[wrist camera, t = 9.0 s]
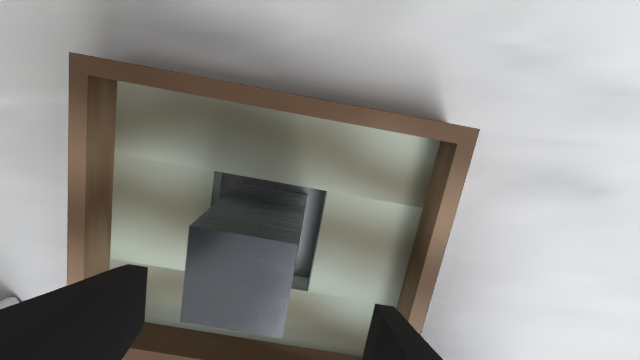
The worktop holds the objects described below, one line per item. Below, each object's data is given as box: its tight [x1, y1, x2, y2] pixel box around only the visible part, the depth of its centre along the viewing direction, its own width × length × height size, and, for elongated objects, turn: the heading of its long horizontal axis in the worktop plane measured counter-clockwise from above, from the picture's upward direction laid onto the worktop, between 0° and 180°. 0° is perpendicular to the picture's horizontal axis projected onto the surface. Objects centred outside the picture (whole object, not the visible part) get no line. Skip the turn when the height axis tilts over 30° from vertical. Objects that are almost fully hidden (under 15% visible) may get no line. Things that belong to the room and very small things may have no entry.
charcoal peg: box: [180, 182, 307, 338], centre depth 15 cm, size 4×4×7 cm
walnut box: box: [67, 52, 480, 360], centre depth 17 cm, size 15×18×4 cm
